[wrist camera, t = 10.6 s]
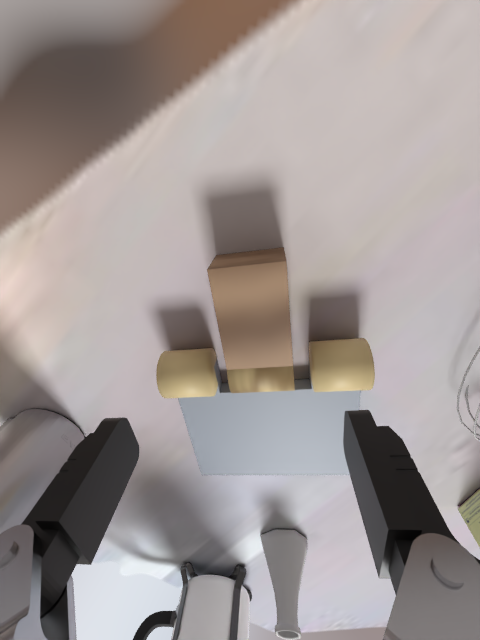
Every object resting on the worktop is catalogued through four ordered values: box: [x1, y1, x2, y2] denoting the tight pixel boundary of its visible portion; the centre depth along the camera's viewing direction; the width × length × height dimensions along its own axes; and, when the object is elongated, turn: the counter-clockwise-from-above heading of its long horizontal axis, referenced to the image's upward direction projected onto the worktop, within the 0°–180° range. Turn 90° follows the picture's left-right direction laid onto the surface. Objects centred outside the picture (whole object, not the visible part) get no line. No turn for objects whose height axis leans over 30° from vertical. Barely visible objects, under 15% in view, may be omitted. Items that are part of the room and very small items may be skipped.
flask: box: [260, 529, 307, 640], centre depth 38 cm, size 7×7×10 cm
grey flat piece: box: [157, 338, 375, 475], centre depth 28 cm, size 18×18×4 cm
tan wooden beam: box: [207, 247, 295, 393], centre depth 23 cm, size 12×6×4 cm, turn 8°
